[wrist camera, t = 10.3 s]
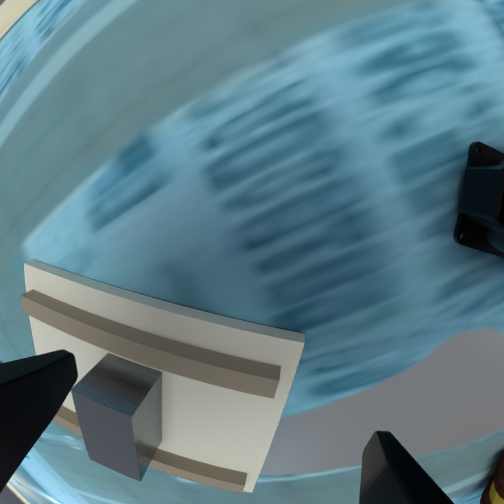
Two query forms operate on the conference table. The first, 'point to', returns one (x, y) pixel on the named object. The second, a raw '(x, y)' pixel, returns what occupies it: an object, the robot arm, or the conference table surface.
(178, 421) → the plate
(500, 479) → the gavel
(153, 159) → the conference table surface
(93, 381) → the block
